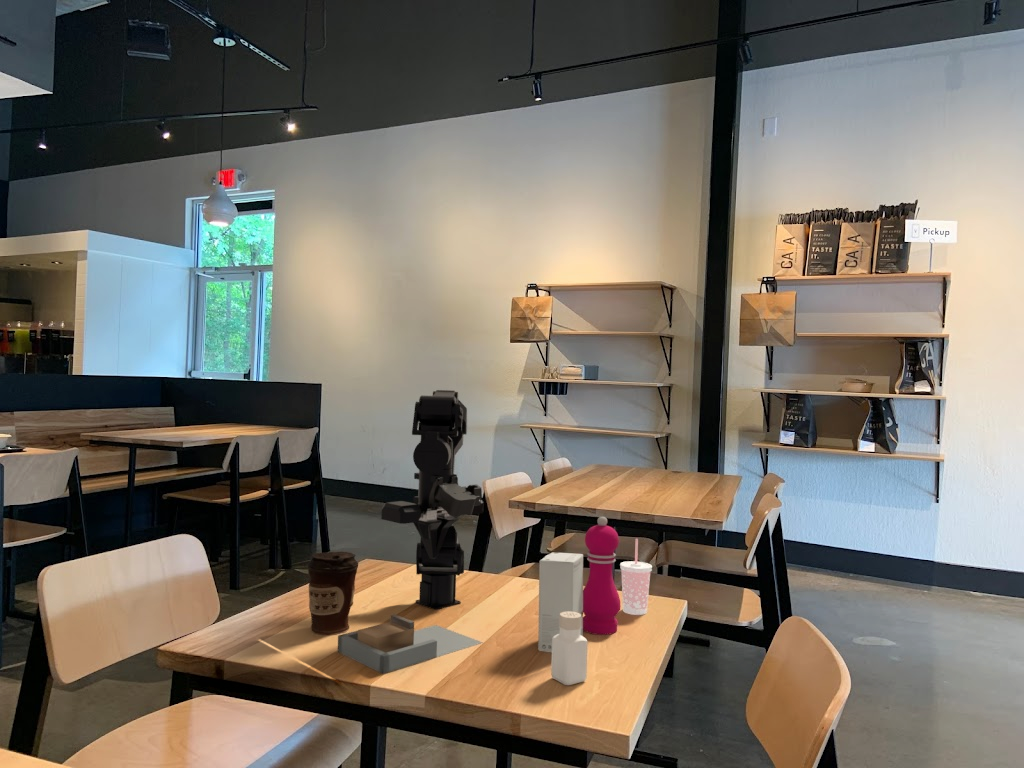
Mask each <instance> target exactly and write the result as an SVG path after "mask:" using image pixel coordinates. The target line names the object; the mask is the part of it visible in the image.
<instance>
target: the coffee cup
mask: <svg viewBox="0 0 1024 768" xmlns="http://www.w3.org/2000/svg"><path fill="white" fill-rule="evenodd" d="M311 557H312V558H311V559H310V561H309V562H308V565H307V572H308V578H309V579H308V580H309V581H308V599H309V601H308V602H309V603H308V607H309V608H308V610H309V613H310V617H311V618H310V619H311V626H310V627H311V628H310V630H311V632H312V633H313V634H317V635H319V636H320V635H322V636H323V635H324V636H333V635H334V636H335V635H336V636H337V635H342V634H346V633H348V631H350V629H351V627H350V624H349V615H350V611H351V608H352V606H354V596H355V591H356V588H355V587H356V583H355V582H356V577H357V573H358V568H359V561H357V560H356V559H355V557H356V554H354V553H352V552H348V551H329V552H317V553H314V554H312V556H311Z"/></svg>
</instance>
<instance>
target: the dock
mask: <svg viewBox="0 0 1024 768" xmlns="http://www.w3.org/2000/svg"><path fill="white" fill-rule="evenodd" d="M481 644H484V642H482V641H480V640H478V639H474V638H472V637H470V636H467V635H465V634H462V633H459V632H456V631H454V630H451V629H448V628H445V627H442V626H439V625H438V624H434V625H431V626H427V627H424V628H419V629H416V630H415V629H414V645H411V646H408V647H404V648H401V649H398V650H394V651H391V652H387V653H385V652H382V651H380V650H378V649H376V648H373V647H371V646H369V645H367V644H364V643H362V642H360V641H358V630H355V631H354V630H353V631H351V632H345V633H341V634H337V652H338V653H339V654H341V655H343V656H345V657H346V658H347V657H348V658H349V659H351V660H354V661H356V662H357V663H360V664H362V665H363V666H366V667H368V668H369V669H372V670H375V671H376V672H379V673H381V674H382V675H384V674H388V673H391V672H394V671H399V670H401V669H404V668H407V667H410V666H414V665H417V664H419V663H424V662H427V661H430V660H433V659H436V658H440V657H442V656H443V657H444V656H446V655H449V654H451V653H455V652H458V651H462V650H465V649H469V648H471V647H474V646H477V645H478V646H479V645H481Z"/></svg>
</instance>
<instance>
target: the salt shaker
mask: <svg viewBox="0 0 1024 768" xmlns="http://www.w3.org/2000/svg"><path fill="white" fill-rule="evenodd" d="M559 628H560V634H557V635H555V636H554V637H553V638H552V652H551V665H550V666H551V667H550V669H551V670H550V671H551V673H550V674H551V675H550V676H551V678H552V679H554V680H555V681H557V682H559V683H561V684H562V685H564V686H571V685H575V684H579V683H583V682H585V681H586V679H587V676H588V675H587V673H588V643H589V642H588V640H587V638H586V637H584V635H583V636H582V635H580V630H581V614H579V613H577V612H570V611H567V612H562V613H560V618H559Z"/></svg>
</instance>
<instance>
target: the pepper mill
mask: <svg viewBox="0 0 1024 768" xmlns="http://www.w3.org/2000/svg"><path fill="white" fill-rule="evenodd" d="M596 521H597V524H596V525H593V526H590V528H589V529H588V530H587V531H586V534H585V536H584V543H585V546H586V548H587V549H588V550H589V551H588V552H587V553H586V555H587V558H586V559H587V561H588V562H589V575H588V578H587V581H586V584H585V586H584V587H583V632H587V633H589V634H593V635H599V636H600V635H601V636H602V635H603V636H604V635H605V636H606V635H612V634H614V633H617V631H618V619H617V618H615V617H616V616H617V615H618V614H619V612H620V611H621V608H622V607H621V598H620V594H619V592H618V589H617V587H616V584H615V581H614V579H613V578H614V577H613V567H614V566H613V565H614V563H615V562H616V561H617V560H616V556H617V554H616V553H615V550H616V549H617V548H618V546H619V541H620V538H619V535H618V532H617V531H616V529H615V528H614V527H612V526H609V525H607V524H608V519H607V517H605V516H599V517H598V518H597V520H596Z"/></svg>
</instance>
